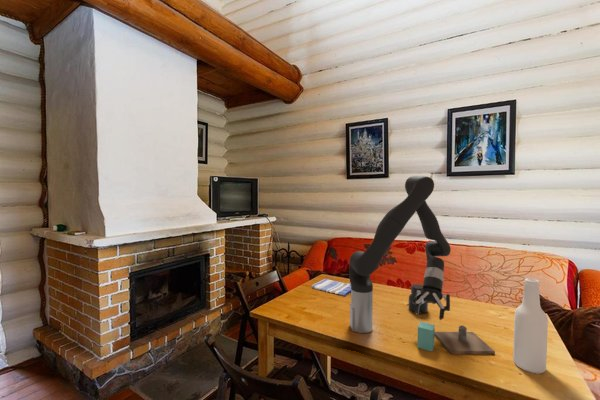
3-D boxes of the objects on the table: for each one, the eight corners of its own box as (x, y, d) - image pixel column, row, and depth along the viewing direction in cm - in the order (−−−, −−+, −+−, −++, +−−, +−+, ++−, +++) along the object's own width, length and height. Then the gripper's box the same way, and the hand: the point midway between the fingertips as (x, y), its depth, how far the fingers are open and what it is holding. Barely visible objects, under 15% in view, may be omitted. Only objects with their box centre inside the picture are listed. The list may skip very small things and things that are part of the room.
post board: (450, 354, 105) (451, 334, 105) (433, 334, 119) (434, 317, 119) (494, 354, 105) (495, 335, 105) (472, 334, 119) (472, 317, 119)
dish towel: (325, 281, 188) (325, 277, 188) (358, 289, 174) (358, 284, 174) (310, 289, 175) (310, 284, 175) (344, 298, 160) (344, 293, 160)
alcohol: (550, 377, 92) (554, 285, 91) (517, 371, 95) (520, 282, 94) (539, 361, 100) (542, 277, 99) (509, 356, 104) (512, 274, 102)
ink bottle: (425, 306, 147) (425, 283, 146) (431, 314, 138) (431, 289, 138) (405, 306, 148) (405, 283, 147) (410, 313, 139) (410, 289, 139)
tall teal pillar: (417, 347, 110) (417, 327, 109) (420, 341, 114) (420, 321, 114) (432, 351, 107) (432, 330, 106) (434, 345, 111) (434, 325, 111)
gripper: (414, 273, 125) (408, 308, 116) (451, 278, 117) (448, 316, 108) (416, 281, 130) (411, 316, 120) (452, 287, 122) (449, 324, 113)
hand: (428, 316), depth 114 cm, fingers open, 8 cm apart
